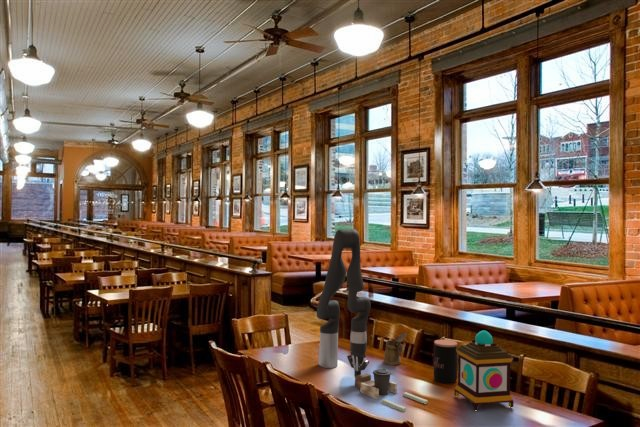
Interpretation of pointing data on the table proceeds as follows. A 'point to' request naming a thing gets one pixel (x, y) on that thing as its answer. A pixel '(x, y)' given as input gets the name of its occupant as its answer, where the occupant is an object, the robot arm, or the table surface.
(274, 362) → the table surface
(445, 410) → the table surface
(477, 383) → the decorative lantern
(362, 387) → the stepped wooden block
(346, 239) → the robot arm
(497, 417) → the table surface
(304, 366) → the table surface
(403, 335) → the brown sack with scoop
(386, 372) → the coffee cup
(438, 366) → the coffee jar
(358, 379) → the pusher
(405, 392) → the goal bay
